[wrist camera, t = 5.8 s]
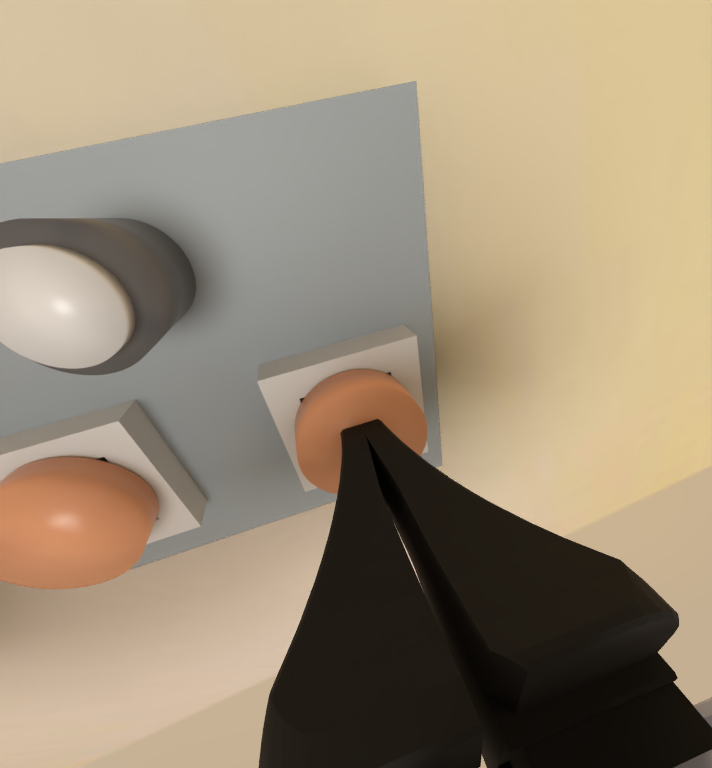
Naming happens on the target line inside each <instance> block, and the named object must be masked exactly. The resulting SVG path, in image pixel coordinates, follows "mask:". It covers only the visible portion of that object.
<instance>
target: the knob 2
mask: <svg viewBox="0 0 712 768" xmlns="http://www.w3.org/2000/svg"><path fill="white" fill-rule="evenodd" d="M375 419H379V420H381V421H382V422H383V423H384V424H385V425H386V426H387V427H388V428H389V429H390V430H391V431H392V432H393V433H394V434H395V435H396V436H397V437H398V438H399V439H400V440H401V441H403V442H404V443H405V444H406V445H407V446H408V447H410V448H411V449H412V450H413V451H414V452H416V453H417V454H418V455H419V456H421V454H422V452H423V450H424V448H425V445H426V441H427V435H428V427H427V421H426V418H425V415H424V413H423V412H422V410H421V408H420V407H419V406H418V404H417V403H416V402H415V400H414V399H413V398H412V396H411V395H410V394H409V392H408V391H407V390H406V388H405V387H404V386H403V385H402V384H401V383H400V382H399V381H398V380H397V379H395V378H394V377H392V376H391V375H389V374H386V373H384V372H381V371H377V370H372V369H354V370H348V371H344V372H341V373H338V374H335V375H333V376H331V377H329V378H327V379H325V380H323V381H322V382H320V383H319V384H318V385H317V386H315V387H314V388H313V389H312V390H311V391H310V392H309V393H308V394H307V395H306V397H305V398H304V400H303V401H302V403H301V405H300V406H299V408H298V411H297V414H296V418H295V440H296V452H297V460H298V464H299V467H300V469H301V471H302V473H303V475H304V476H305V477H306V478H307V480H309V481H310V482H311V483H312V484H313V485H315V486H316V487H318V488H320V489H322V490H324V491H327V492H330V493H334V494H338V488H339V481H340V471H341V460H342V442H341V435H340V433H341V431H342V430H343V429H346V428H350V427H353V426H356V425H359V424H363V423H366V422H369V421H372V420H375Z"/></svg>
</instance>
